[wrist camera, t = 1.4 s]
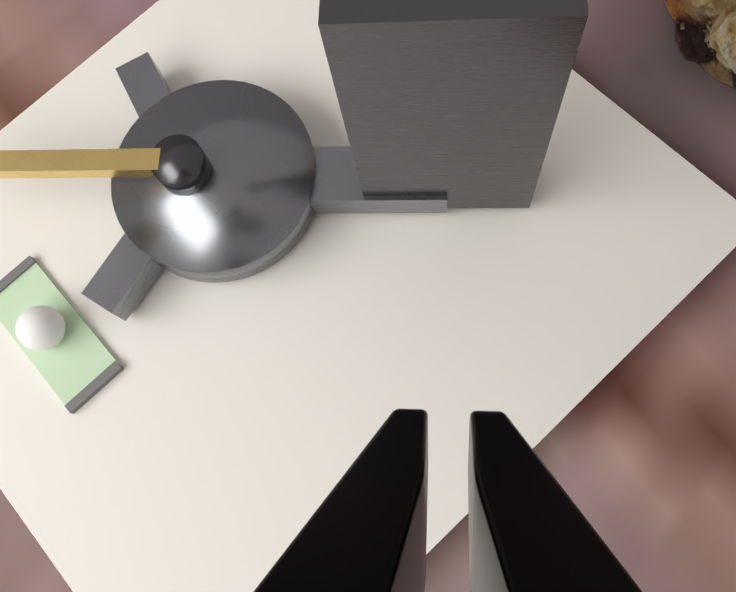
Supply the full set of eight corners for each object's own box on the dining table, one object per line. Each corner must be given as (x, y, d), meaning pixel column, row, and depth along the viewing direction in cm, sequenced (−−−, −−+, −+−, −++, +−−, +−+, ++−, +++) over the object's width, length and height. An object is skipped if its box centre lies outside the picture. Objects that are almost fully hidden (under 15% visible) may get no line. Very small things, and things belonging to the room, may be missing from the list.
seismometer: (-72, 318, 22) (-392, 209, 14) (-21, 74, 25) (-266, -149, 16) (532, 326, 20) (598, 203, 12) (525, 59, 23) (576, -205, 14)
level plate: (747, 232, 22) (783, 201, 20) (215, 761, 19) (184, 798, 17) (324, -110, 27) (313, -166, 25) (-137, 271, 25) (-197, 248, 22)
